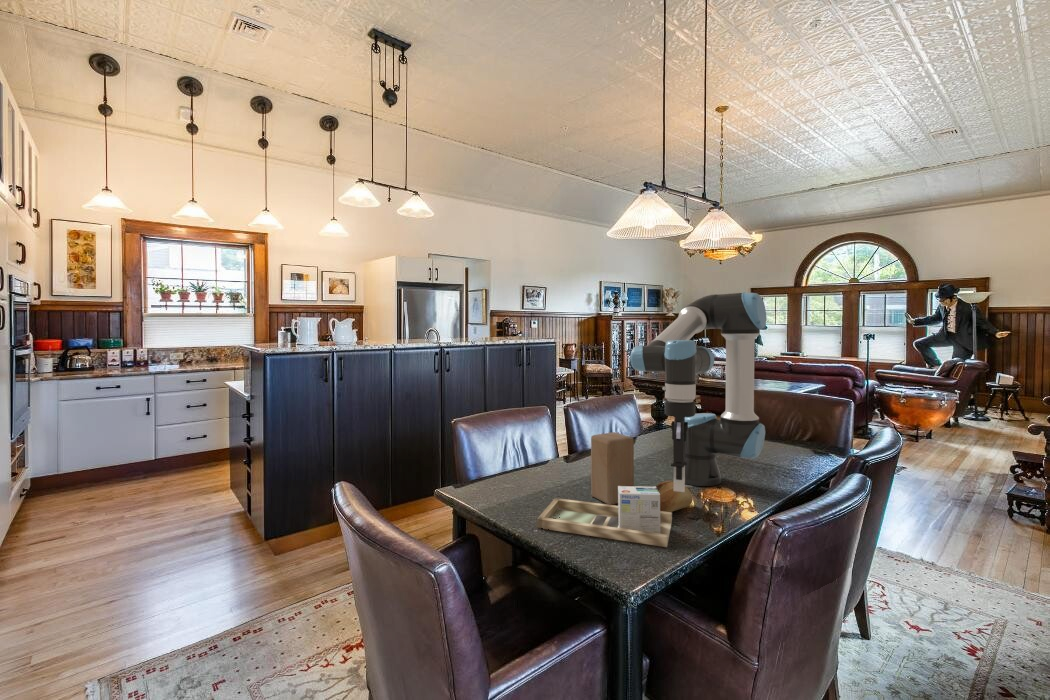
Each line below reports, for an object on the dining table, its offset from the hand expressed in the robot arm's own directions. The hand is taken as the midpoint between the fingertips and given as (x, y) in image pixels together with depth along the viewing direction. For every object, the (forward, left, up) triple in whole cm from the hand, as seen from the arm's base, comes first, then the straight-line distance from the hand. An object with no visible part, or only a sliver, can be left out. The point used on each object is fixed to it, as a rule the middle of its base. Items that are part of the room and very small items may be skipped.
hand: (679, 490), depth 123 cm
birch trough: (+19, 0, -12) cm, 23 cm away
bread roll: (+3, -18, -12) cm, 22 cm away
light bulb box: (+10, 0, -12) cm, 16 cm away
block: (+21, -21, -12) cm, 32 cm away
